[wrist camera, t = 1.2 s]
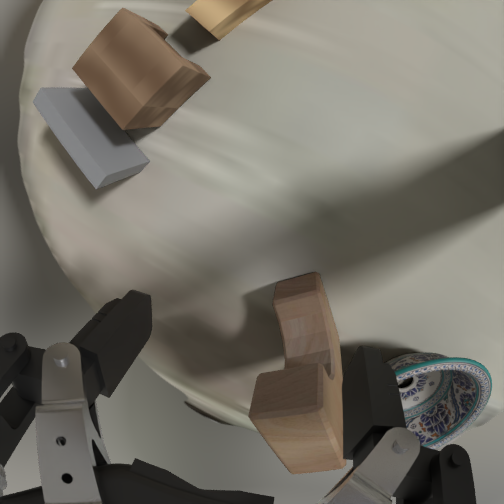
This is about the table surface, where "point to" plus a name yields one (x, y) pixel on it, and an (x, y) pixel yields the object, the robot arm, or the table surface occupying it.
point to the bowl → (441, 395)
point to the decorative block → (303, 382)
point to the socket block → (137, 72)
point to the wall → (90, 135)
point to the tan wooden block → (223, 14)
